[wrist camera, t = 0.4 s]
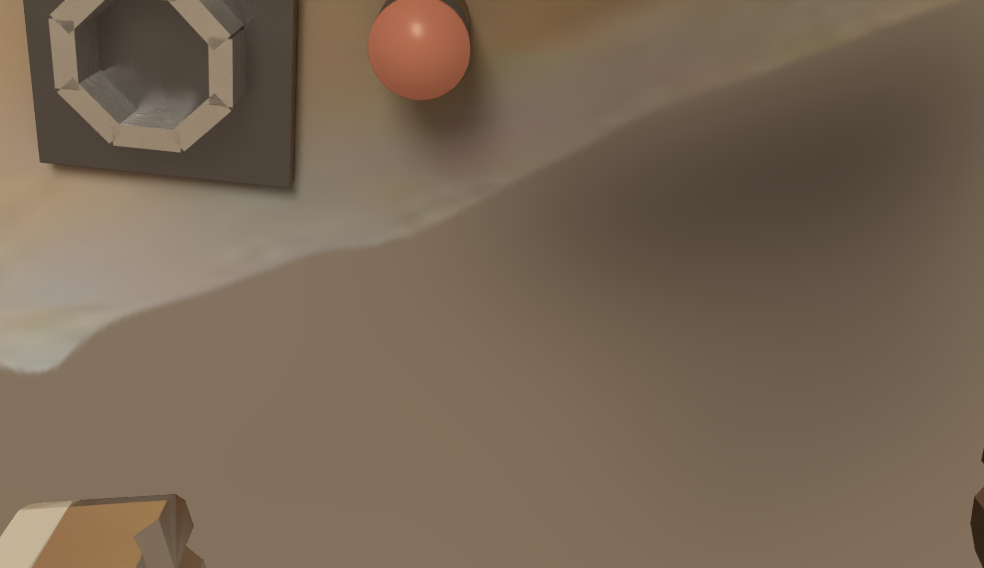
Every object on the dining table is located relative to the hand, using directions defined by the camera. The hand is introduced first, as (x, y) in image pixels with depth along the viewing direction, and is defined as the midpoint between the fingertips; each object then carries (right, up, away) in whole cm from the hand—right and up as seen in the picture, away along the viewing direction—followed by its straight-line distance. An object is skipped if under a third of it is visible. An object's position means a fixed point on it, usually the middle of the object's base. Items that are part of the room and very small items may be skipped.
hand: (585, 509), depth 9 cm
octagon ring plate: (-19, +16, +40) cm, 47 cm away
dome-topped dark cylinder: (-5, +17, +40) cm, 44 cm away
